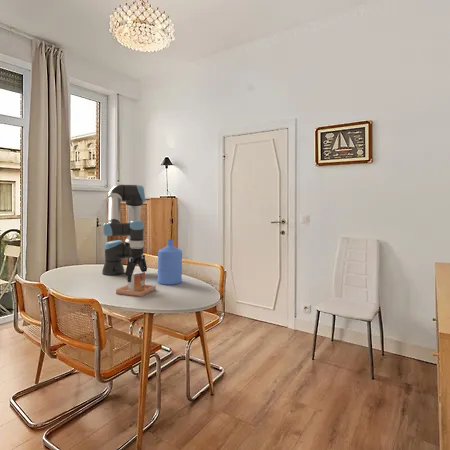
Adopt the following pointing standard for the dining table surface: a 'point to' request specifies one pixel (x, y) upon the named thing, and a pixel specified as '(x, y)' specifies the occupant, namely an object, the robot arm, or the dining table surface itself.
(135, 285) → the small box
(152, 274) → the dining table surface
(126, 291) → the holder
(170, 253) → the water jug
